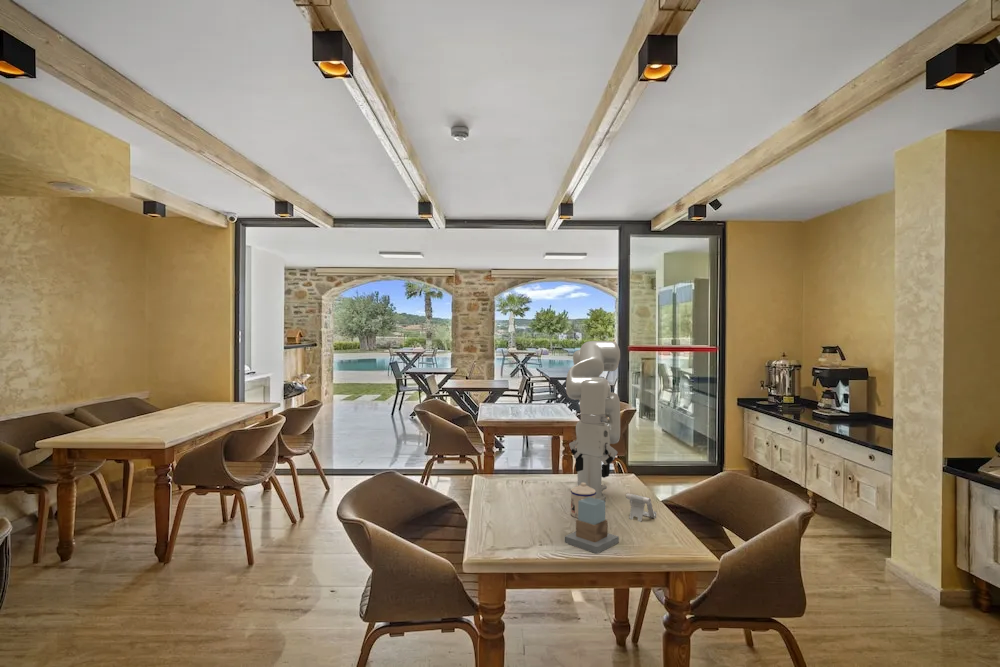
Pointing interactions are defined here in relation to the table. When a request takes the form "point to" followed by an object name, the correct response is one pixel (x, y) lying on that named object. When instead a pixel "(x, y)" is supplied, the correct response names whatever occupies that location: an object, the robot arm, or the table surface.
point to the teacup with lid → (580, 496)
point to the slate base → (592, 546)
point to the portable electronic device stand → (640, 507)
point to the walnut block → (591, 530)
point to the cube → (591, 510)
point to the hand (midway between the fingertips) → (592, 473)
